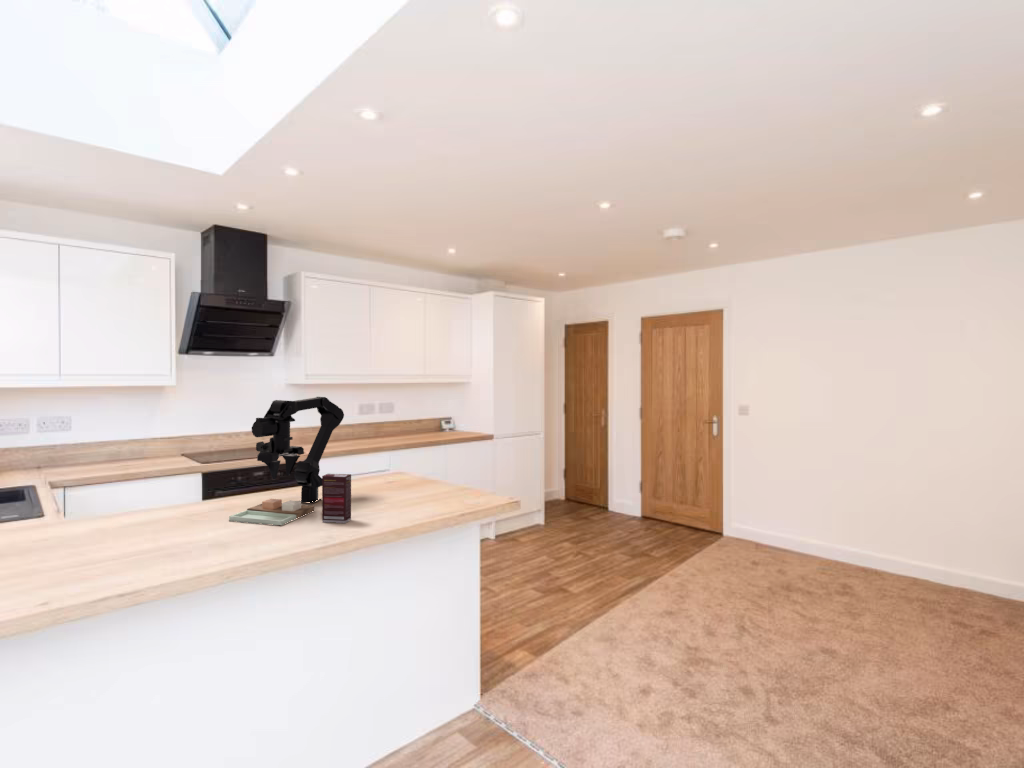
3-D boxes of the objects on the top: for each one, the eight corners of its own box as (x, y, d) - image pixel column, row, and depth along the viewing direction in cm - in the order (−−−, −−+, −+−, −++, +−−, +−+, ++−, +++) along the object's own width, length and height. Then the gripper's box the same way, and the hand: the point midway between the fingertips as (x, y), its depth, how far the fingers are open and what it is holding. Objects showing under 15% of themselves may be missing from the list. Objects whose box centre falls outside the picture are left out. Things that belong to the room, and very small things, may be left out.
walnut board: (266, 507, 192) (266, 501, 192) (314, 511, 187) (314, 506, 187) (247, 514, 182) (247, 508, 182) (296, 519, 178) (296, 513, 178)
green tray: (246, 514, 182) (246, 510, 182) (296, 519, 177) (296, 514, 177) (229, 521, 174) (229, 516, 174) (280, 526, 170) (280, 521, 170)
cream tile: (290, 507, 185) (290, 500, 185) (301, 508, 184) (301, 501, 184) (281, 510, 181) (281, 503, 181) (293, 511, 180) (293, 504, 180)
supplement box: (351, 519, 178) (352, 473, 178) (345, 523, 174) (346, 476, 173) (327, 518, 179) (328, 472, 179) (321, 522, 174) (321, 475, 174)
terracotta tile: (270, 505, 187) (270, 498, 187) (281, 506, 186) (281, 499, 186) (262, 508, 183) (262, 501, 183) (273, 509, 182) (273, 502, 182)
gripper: (279, 430, 200) (279, 470, 200) (244, 436, 181) (243, 480, 182) (304, 432, 197) (304, 472, 197) (271, 438, 179) (271, 482, 179)
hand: (281, 476), depth 189 cm, fingers open, 7 cm apart
